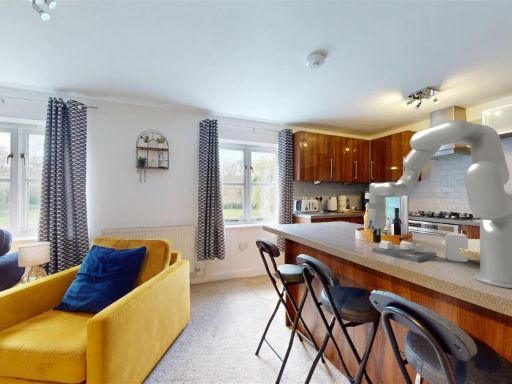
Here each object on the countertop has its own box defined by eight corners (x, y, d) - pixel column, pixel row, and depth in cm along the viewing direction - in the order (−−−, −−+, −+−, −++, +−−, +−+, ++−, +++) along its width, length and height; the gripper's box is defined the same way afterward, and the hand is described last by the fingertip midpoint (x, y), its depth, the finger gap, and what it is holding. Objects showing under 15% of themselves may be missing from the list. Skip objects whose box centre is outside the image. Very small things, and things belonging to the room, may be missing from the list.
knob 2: (413, 249, 124) (413, 242, 124) (409, 250, 122) (409, 243, 122) (404, 247, 128) (404, 240, 128) (400, 248, 126) (400, 241, 126)
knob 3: (428, 251, 118) (428, 244, 118) (424, 253, 116) (424, 245, 116) (418, 250, 122) (418, 243, 122) (414, 251, 120) (414, 243, 120)
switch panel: (436, 256, 118) (436, 251, 118) (417, 262, 109) (417, 257, 109) (391, 247, 137) (391, 243, 137) (372, 252, 128) (372, 247, 128)
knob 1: (391, 248, 126) (391, 241, 126) (387, 249, 124) (387, 242, 124) (383, 246, 130) (383, 239, 130) (379, 247, 128) (379, 240, 128)
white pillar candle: (459, 263, 106) (459, 236, 106) (440, 258, 114) (440, 233, 114) (472, 262, 109) (472, 235, 109) (453, 257, 116) (453, 232, 116)
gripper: (378, 205, 131) (378, 239, 131) (361, 206, 123) (361, 242, 123) (392, 206, 124) (392, 242, 125) (375, 207, 117) (375, 245, 117)
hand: (376, 242), depth 124 cm, fingers closed
